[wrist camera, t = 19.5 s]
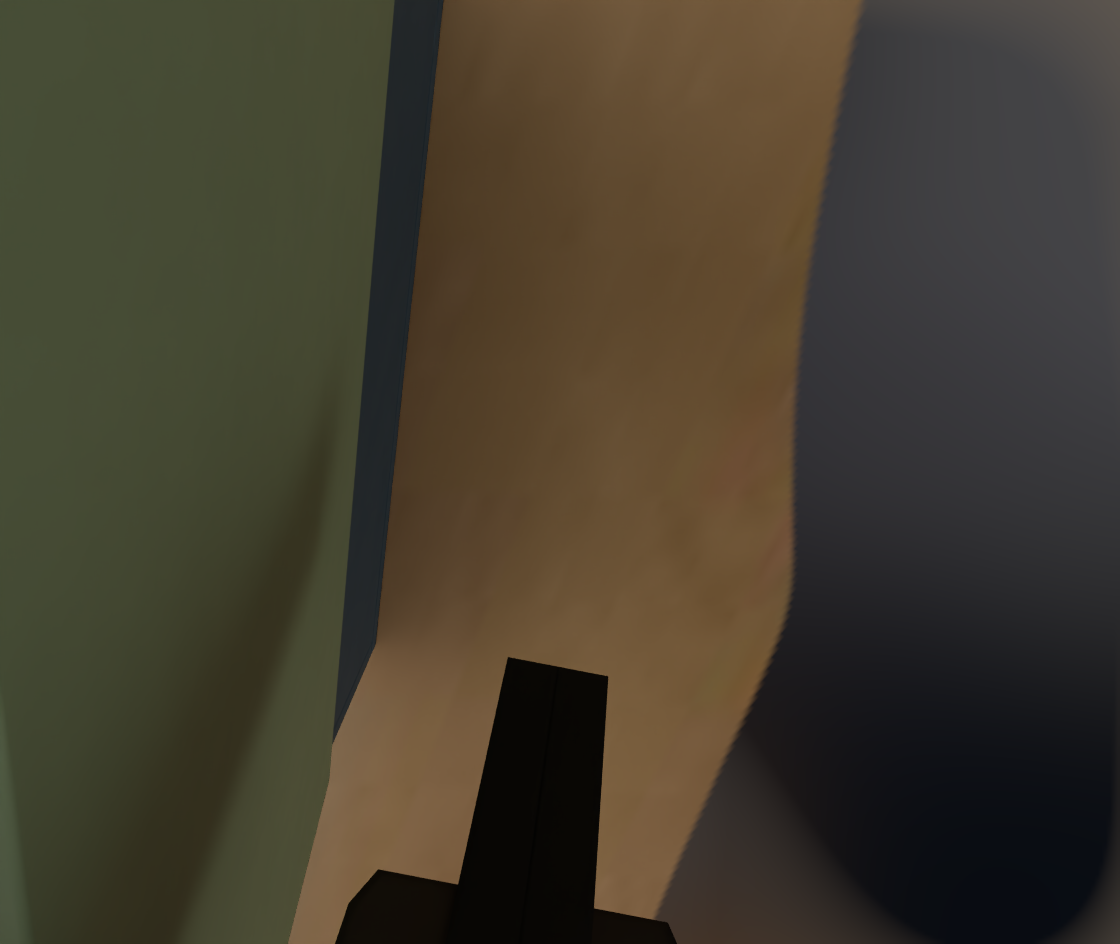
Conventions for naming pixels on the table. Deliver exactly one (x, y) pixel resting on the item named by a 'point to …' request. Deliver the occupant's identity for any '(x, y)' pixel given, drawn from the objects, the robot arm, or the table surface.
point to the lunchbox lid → (177, 451)
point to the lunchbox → (387, 327)
